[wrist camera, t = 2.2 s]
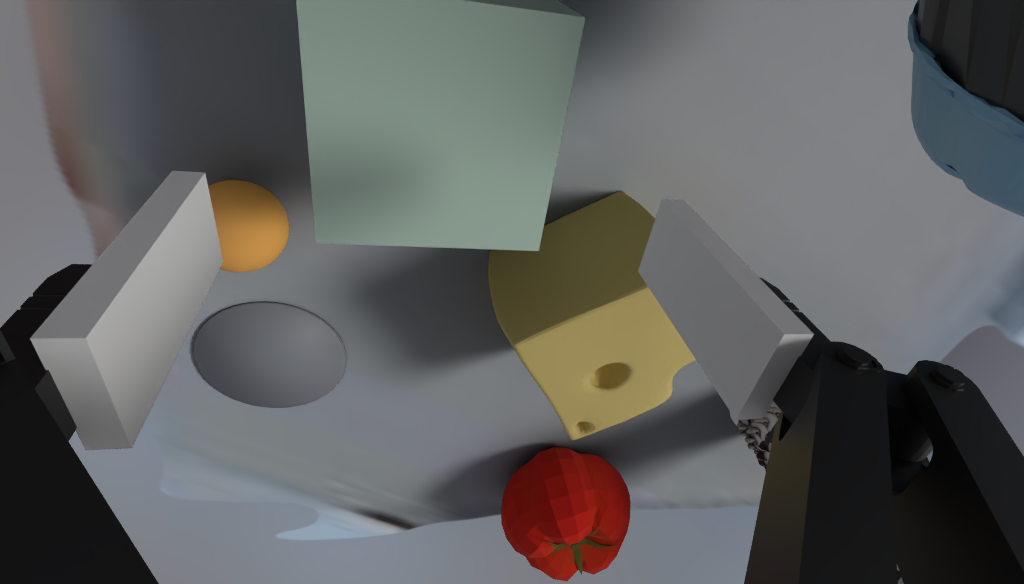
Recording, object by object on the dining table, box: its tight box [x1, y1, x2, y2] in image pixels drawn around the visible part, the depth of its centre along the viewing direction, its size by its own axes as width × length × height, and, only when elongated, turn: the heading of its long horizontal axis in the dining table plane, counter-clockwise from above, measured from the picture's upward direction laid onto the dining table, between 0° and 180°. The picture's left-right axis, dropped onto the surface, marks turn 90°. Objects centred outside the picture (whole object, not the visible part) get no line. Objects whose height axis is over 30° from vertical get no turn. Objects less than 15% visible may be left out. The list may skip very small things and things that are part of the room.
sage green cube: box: [296, 0, 586, 251], centre depth 25 cm, size 10×10×9 cm
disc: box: [194, 302, 346, 408], centre depth 37 cm, size 10×10×1 cm
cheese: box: [488, 191, 696, 440], centre depth 34 cm, size 10×11×10 cm
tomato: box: [501, 447, 630, 581], centre depth 48 cm, size 11×12×9 cm
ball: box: [208, 180, 289, 272], centre depth 29 cm, size 5×5×5 cm
